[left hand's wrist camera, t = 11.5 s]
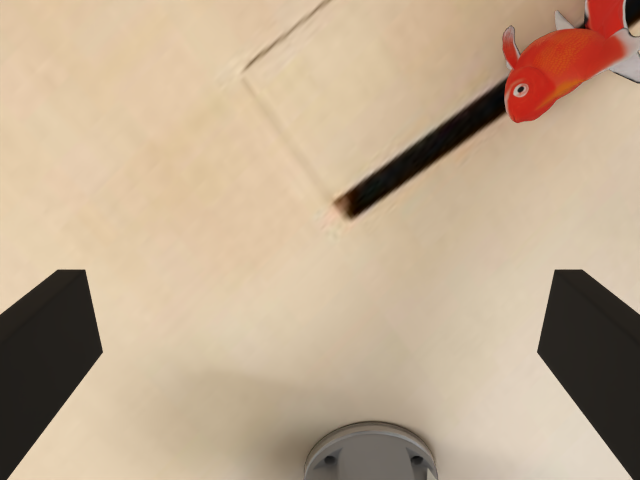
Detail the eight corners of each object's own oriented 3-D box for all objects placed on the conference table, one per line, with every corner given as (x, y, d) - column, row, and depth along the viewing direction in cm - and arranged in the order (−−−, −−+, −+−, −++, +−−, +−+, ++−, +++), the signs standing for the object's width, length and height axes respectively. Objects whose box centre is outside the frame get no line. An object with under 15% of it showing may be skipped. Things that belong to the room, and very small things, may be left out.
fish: (439, 2, 30) (583, -1, 22) (585, -100, 33) (753, -133, 26) (466, 135, 37) (584, 167, 29) (586, 38, 40) (720, 45, 32)
